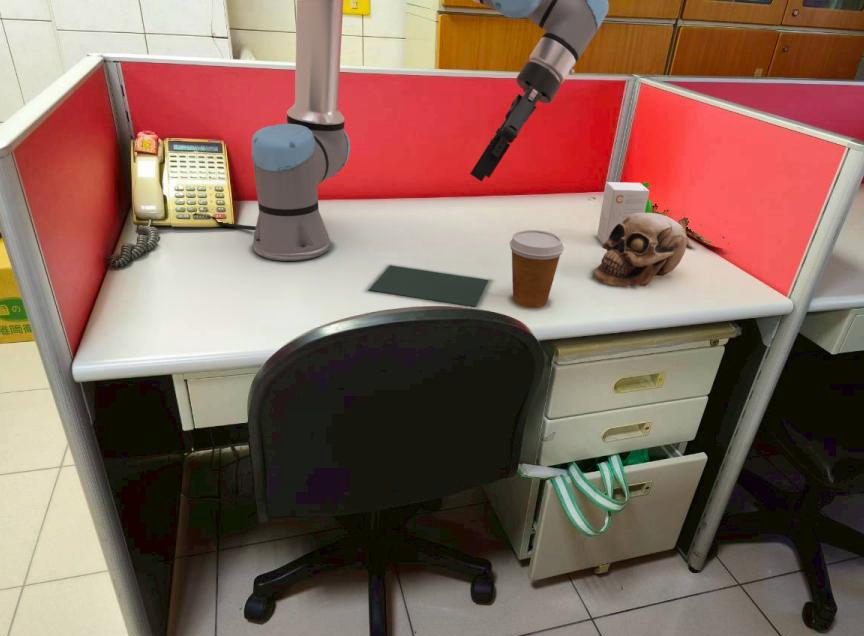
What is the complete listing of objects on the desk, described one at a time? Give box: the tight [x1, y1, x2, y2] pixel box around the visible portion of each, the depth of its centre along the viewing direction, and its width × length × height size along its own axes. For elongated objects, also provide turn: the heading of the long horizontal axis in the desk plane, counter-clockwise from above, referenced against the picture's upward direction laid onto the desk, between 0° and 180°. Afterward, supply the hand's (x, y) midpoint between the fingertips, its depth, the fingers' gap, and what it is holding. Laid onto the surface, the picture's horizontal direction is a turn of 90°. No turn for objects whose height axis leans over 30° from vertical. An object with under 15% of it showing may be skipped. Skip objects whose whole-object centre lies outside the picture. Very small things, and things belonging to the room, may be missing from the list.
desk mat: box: [368, 265, 489, 308], centre depth 118 cm, size 20×12×1 cm, turn 77°
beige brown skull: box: [592, 212, 687, 287], centre depth 126 cm, size 16×17×13 cm
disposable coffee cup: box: [509, 229, 565, 309], centre depth 112 cm, size 10×10×12 cm
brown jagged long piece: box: [678, 217, 718, 249], centre depth 147 cm, size 9×5×18 cm
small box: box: [596, 181, 650, 245], centre depth 141 cm, size 8×6×13 cm
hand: (478, 175), depth 115 cm, fingers open, 13 cm apart
